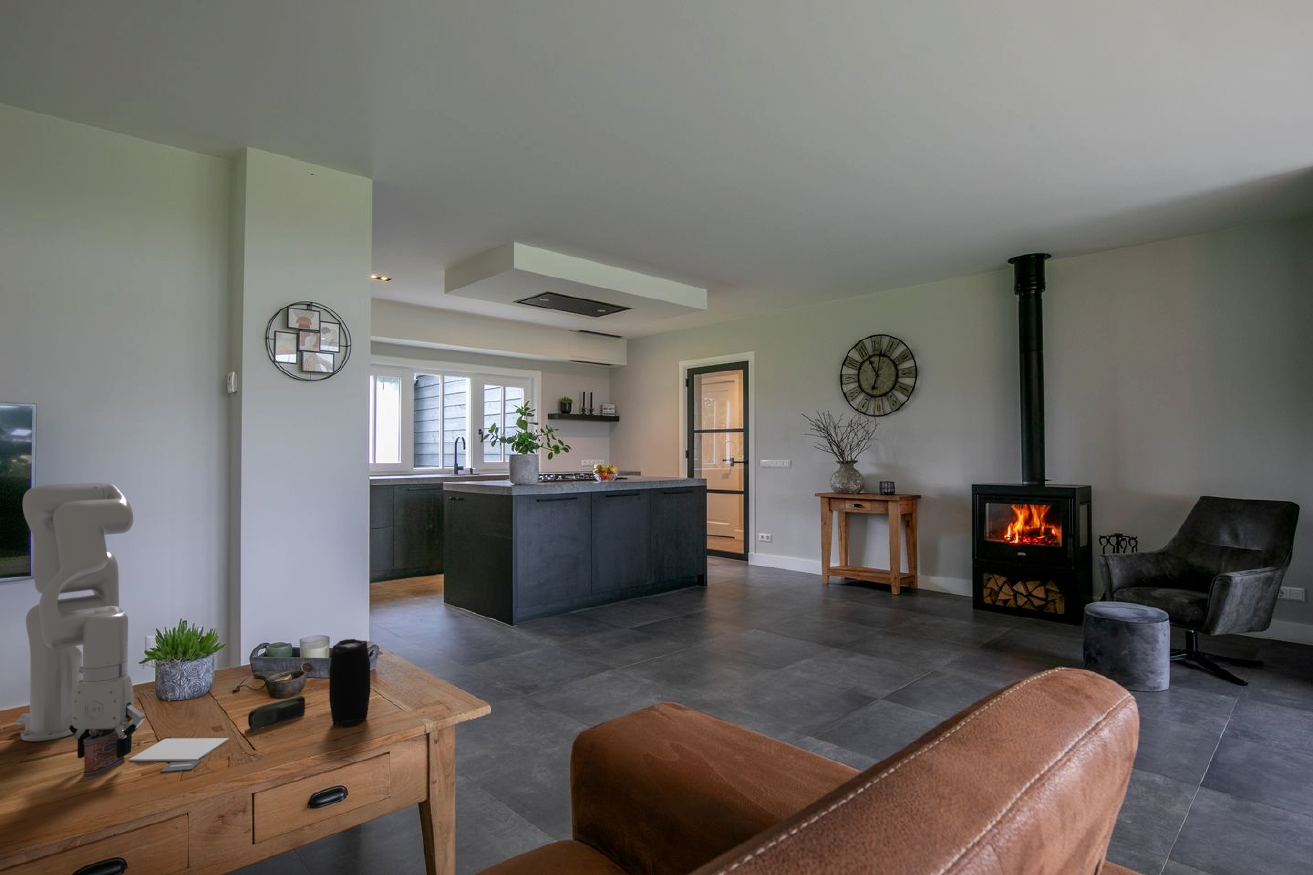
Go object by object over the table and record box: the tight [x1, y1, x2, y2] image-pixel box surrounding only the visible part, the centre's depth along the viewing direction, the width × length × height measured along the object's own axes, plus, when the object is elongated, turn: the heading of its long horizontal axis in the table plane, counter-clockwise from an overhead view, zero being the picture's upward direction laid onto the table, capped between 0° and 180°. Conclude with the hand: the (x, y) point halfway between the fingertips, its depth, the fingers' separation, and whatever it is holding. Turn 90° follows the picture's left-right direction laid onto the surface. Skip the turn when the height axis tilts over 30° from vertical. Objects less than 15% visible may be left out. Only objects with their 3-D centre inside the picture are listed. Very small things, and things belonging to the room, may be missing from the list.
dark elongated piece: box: [244, 695, 306, 734], centre depth 171 cm, size 5×3×15 cm
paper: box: [128, 737, 230, 762], centre depth 155 cm, size 15×11×1 cm
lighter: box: [82, 726, 126, 779], centre depth 146 cm, size 8×3×10 cm, turn 168°
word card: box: [159, 760, 202, 774], centre depth 147 cm, size 6×4×1 cm, turn 100°
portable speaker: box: [328, 638, 371, 729], centre depth 171 cm, size 9×9×20 cm
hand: (104, 754), depth 146 cm, fingers open, 7 cm apart
